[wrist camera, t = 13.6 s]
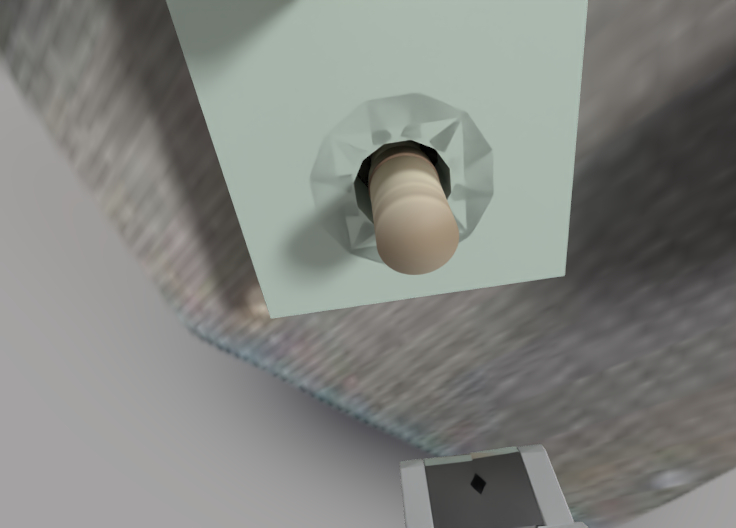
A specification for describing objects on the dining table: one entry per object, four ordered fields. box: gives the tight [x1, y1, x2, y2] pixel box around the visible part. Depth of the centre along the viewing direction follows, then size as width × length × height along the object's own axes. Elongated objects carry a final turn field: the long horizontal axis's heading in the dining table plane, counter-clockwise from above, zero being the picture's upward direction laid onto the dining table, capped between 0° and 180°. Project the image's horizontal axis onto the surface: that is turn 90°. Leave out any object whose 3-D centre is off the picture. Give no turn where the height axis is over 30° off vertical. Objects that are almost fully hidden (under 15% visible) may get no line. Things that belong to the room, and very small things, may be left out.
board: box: [166, 0, 588, 318], centre depth 20 cm, size 22×16×9 cm
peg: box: [368, 140, 459, 275], centre depth 23 cm, size 3×3×9 cm
